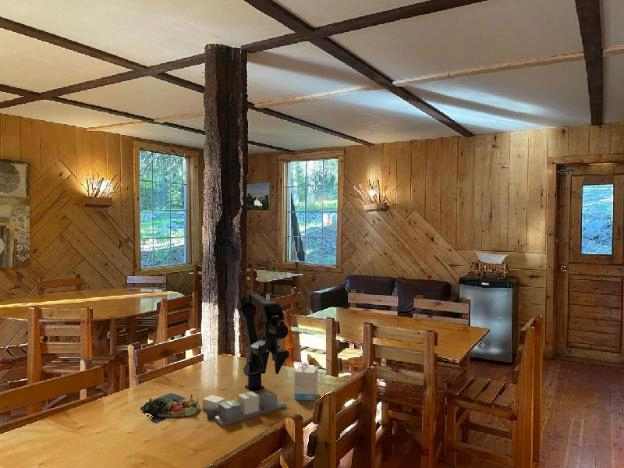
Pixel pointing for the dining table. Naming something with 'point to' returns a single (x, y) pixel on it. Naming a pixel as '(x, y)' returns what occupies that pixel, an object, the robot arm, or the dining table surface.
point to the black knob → (212, 412)
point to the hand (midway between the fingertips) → (270, 371)
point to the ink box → (306, 382)
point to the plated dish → (170, 407)
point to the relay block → (212, 401)
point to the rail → (232, 413)
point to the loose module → (248, 402)
